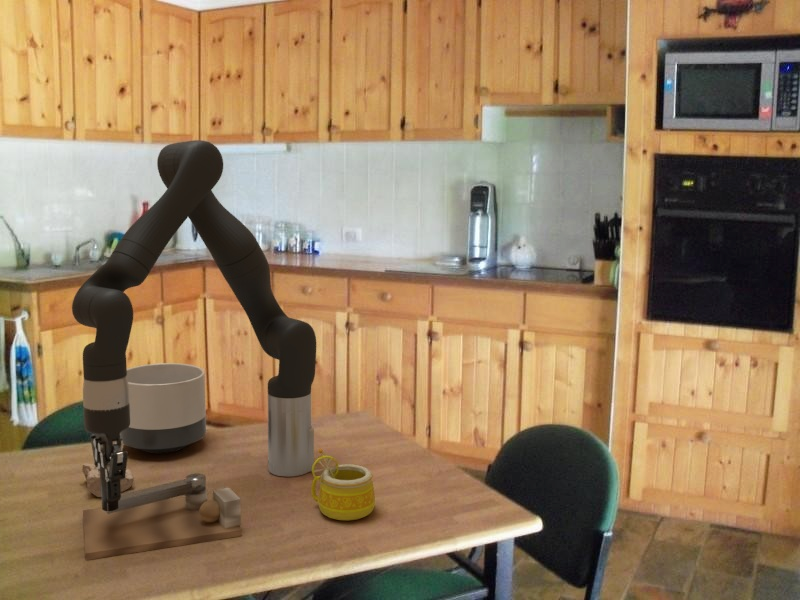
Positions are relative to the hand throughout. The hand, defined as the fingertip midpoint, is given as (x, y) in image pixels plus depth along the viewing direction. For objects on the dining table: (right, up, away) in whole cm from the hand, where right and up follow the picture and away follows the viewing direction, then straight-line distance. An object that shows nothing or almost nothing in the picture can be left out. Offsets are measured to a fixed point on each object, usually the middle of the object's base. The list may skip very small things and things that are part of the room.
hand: (110, 496), depth 143 cm
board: (+7, -7, +5) cm, 11 cm away
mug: (+40, -6, +13) cm, 42 cm away
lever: (+6, -2, +5) cm, 9 cm away
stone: (-9, -4, +21) cm, 23 cm away
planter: (-4, 0, +45) cm, 45 cm away
